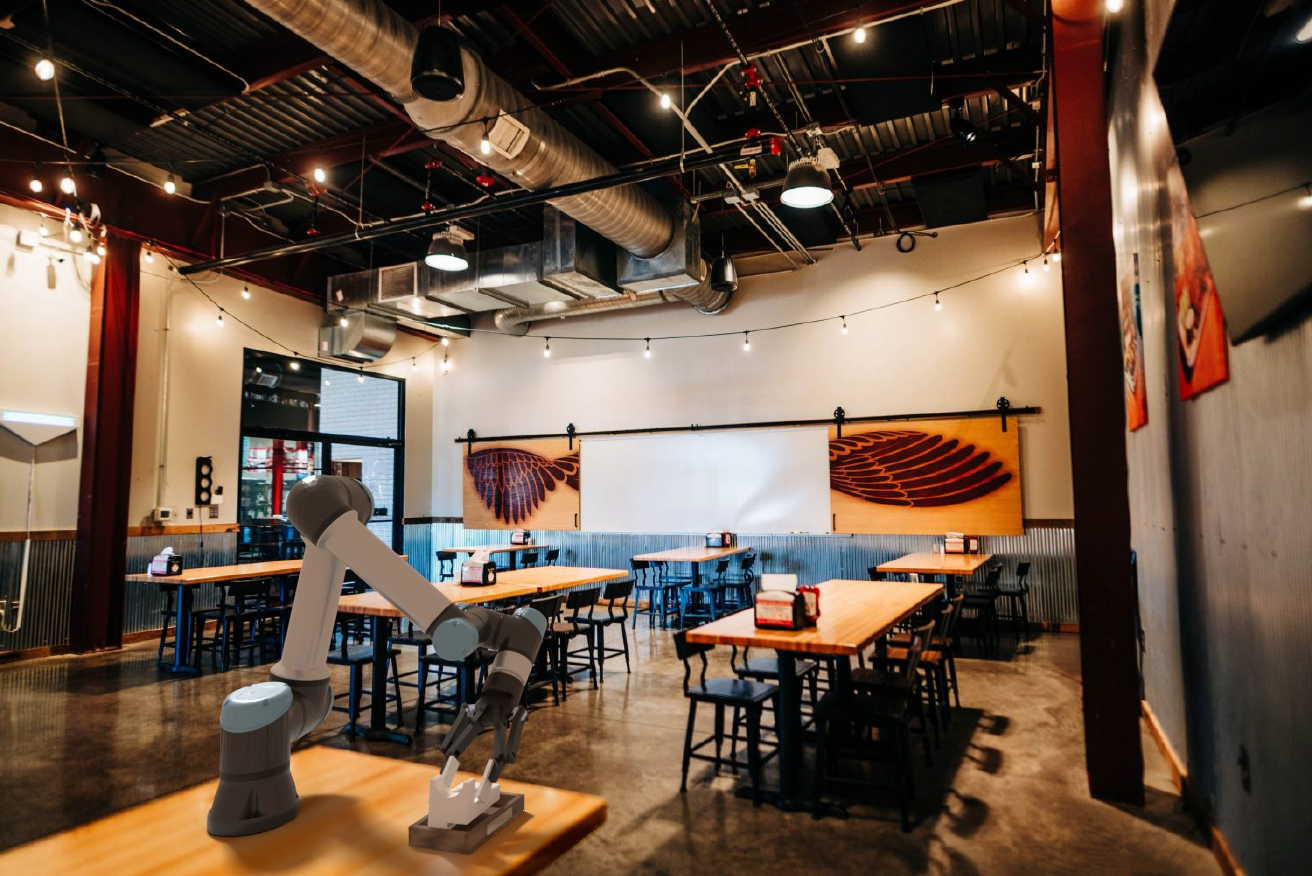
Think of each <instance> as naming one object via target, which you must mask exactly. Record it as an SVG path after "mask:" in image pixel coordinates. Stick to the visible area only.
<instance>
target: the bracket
mask: <svg viewBox="0 0 1312 876" xmlns="http://www.w3.org/2000/svg"><path fill="white" fill-rule="evenodd" d="M480 782H481V781H476V777H469V778H467V779H466V780H464V781H462V782H461V783H459V784H458V785H456V786H455V787H453V788H451V789H450V788H449V789H448V788H447V787H446V786H445V784H444V781H443V775H440V774H436V776H434V777H431V778H430V779H429V792H428V793H429V794H428V797H429V798H428V812H427V815H428V827H434V828H444V829H447V828H449V827H450V826H451V825H453V824H464V825H467V824H468V823H470V822H471V821H472V820H473V819H475V818H476V817H477V816H478V815H480V814H481V813H482V812H484V811H485V810H486V809H487V808H489V807H490V806H491V805H493V804H494V803H495V802H496V801H498V800H499V799H500V791H501V783H493V784H492V787H491V789H490V792H489V795H488V797H487V800H486V803H485V804H483V803H481V802H480V801H479V800H478V799H477V798H476V796H475V795H476V792H477V790H478V787H479V785H480Z"/></svg>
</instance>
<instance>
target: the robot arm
mask: <svg viewBox="0 0 1312 876" xmlns="http://www.w3.org/2000/svg"><path fill="white" fill-rule="evenodd" d="M375 505H376V503H375V498H374V495H373V493H372V491H371V490H370V488H369V487H368V486H367V485H366V484H365V483H364V482H362V481H360V480H358V479H355V478H352V477H348V476H345V475H344V476H343V475H327V474H312V475H309V476H306V477H304V478H302V479H300V480H299V481H297V482H296V483H295V484H294V485H293V486H292V487H291V489H290V490H289V492H288V495H287V496H286V501H285V510H286V516H287V518H288V520H289V521H290V524H291V525H293V527H294V528H295V529H296V530H297V531H298V532H299V533H300V538H301V540H302V541H303V542H304V544H305V549H304V554H303V558H302V562H301V567H300V573H299V578H298V581H297V586H296V590H295V595H294V600H293V603H292V610H291V613H290V617H289V622H288V626H287V631H286V636H285V640H284V645H283V649H282V653H281V654H282V655H281V657H280V658H281V659H280V660H279V661H278V662H277V663H276V664H274V665H273V666H271V668H270V671H269V676H268V680H267V681H266V682H265V681H264V682H260V683H254V684H251V685H249V686H244V687H241V688H239V689H236V690H235V691H233V692H230V694H228V695H227V696H226V697H225V698H224V699H223V702H222V705H221V713H220V717H219V725H220V735H219V739H220V741H219V743H220V746H219V779H218V781H219V782H218V785H217V788H216V792H215V795H214V797H213V801H212V805H211V807H210V809H209V811H208V813H207V816H206V830H207V832H208V833H210V834H211V835H215V836H221V837H238V836H246V835H247V836H249V835H252V834H258V833H262V832H265V831H269V830H272V829H275V828H277V827H280V826H282V825H285V824H286V823H289V822H291V821H292V820H293V819H295V818H296V817H297V816H298V815H299V814H300V810H301V809H300V803H301V802H300V795H299V794H298V792H297V788H296V787H297V786H296V785H295V780H294V778H293V775H292V771H291V747H292V746H291V744H292V743H293V742H295V741H297V740H299V739H300V738H302V737H303V736H305V735H306V734H309V733H311V732H313V730H316V729H317V728H318V727H319V726H320V725H321V724H322V723H323V722H324V721H325V720H326V718H327V717H328V716H329V715H330V713H331V711H332V709H333V705H334V702H335V701H334V700H335V692H334V689H333V686H332V685H331V677H332V671H331V669H330V668H329V666H328V665H327V660H328V654H329V651H330V645H331V640H332V636H333V631H334V627H335V621H336V617H337V613H338V607H339V603H340V599H341V594H342V589H343V584H344V580H345V575H346V570H347V567H348V569H350V570H351V571H352V572H353V573H355V575H357V576H358V577H359V578H360V579H361V580H362V581H364V582H365V583H366V584H367V585H368V586H369V587H370V588H372V589H373V590H374V591H375V592H376V593H378V594H379V595H380V596H381V597H382V598H383V599H384V600H386V601H387V602H388V603H389V604H390V605H391V606H392V607H393V608H395V609H396V610H397V611H398V612H399V613H401V615H403V616H404V617H405V619H407V620H408V621H409V622H410V623H412V624H413V625H415V626H414V627H416V628H417V629H419V630H420V631H421V632H422V633H423V634H424V635H425V636H427V637H428V638H429V639H430V640H431V643H432V647H433V649H434V652H435V653H436V654H437V655H438V657H440V658H442V659H443V660H446V661H453V662H454V661H458V660H459V661H460V660H461V659H464V658H467V657H468V656H470V655H472V653H474V652H475V650H477V649H478V648H479V647H481V648H484V649H489V650H492V651H494V652H495V651H496V652H497V653H496V656H495V657H494V660H493V663H492V665H491V667H490V669H489V674H488V675H487V677H486V679H485V681H484V684H483V686H482V688H481V693H480V694H481V695H480V697H479V699H477V701H476V702H475V703H474V704H468V703H467V702H462V703H461V705H460V710H459V714H458V715H457V717H456V718H455V720H454V722H453V724H452V726H451V727H450V729H449V731H448V732H447V733H446V736H445V737H444V739H443V741H442V742H441V745H440V746H439V750H438V751H439V752H440V753H441V754H442V755H443V757H445V758H444V760H443V763H442V764H441V768H440V771H439V775H443V781H444V784H445V786H446V787H447V788H448V789H449V790H450V788H451V785H452V782H453V780H454V778H455V776H456V773H457V771H458V769H459V766H460V764H461V763H460V762H459V761H458V759H460V757H461V756H462V755H463V753H464V752H465V751H466V750H467V749H468V747H469V746H470V744H471V743H472V742H473V740H475V738H476V737H477V736H478V735H479V734H480V733H482V732H483V731H484V730H485V729H486V728H494V739H493V740H494V745H493V746H494V747H493V749H494V751H493V752H494V754H493V755H492V757H493V759H491V758H490V759H489V758H488V761H487V764H486V767H485V769H484V772H483V774H482V777H481V780H480V781H479V782H480V785H479V787H478V790H477V792H476V795H475V796H476V798H477V799H478V800H479V801H480V802H481V803H483V804H485V803H486V800H487V797H488V795H489V792H490V789H491V787H492V784H493V783H495V784H497V782H498V781H499V779H500V776H501V772H502V771H503V767H505V765H508V764H511V765H512V764H515V763H516V760H517V757H518V753H519V748H520V742H521V738H522V734H523V729H524V726H525V723H526V721H527V719H528V718H529V713H528V712H527V710H526V708H525V707H524V706H523V705H522V706H518V705H519V704H520V700H521V697H522V694H523V691H524V690H525V686H526V683H527V681H528V679H529V676H530V674H531V671H532V667H533V665H534V662H535V660H536V658H537V655H538V652H539V650H540V648H541V645H542V643H543V639H544V636H545V633H546V629H547V626H548V622H547V619H546V617H545V616H544V614H542V612H540V611H539V610H538V609H535V608H532V607H518V608H517V609H516V610H515V611H514V612H513V613H512V615H511V614H505V613H503V612H499V611H495V610H491V609H488V608H485V607H482V606H480V605H476V604H474V603H467V602H463V601H459V602H458V601H457V602H456V603H454V602H453V601H452V600H451V599H450V598H448V597H447V596H446V595H445V594H444V593H443V592H441V590H439V589H438V588H437V587H436V586H435V585H434V584H432V583H431V582H430V581H429V580H428V579H426V577H424V575H422V574H421V573H419V572H418V571H417V570H416V569H415V568H414V567H413V566H411V564H410V563H408V562H407V561H406V560H405V559H404V558H402V557H401V556H400V555H399V554H398V553H396V552H395V551H394V550H393V549H392V548H391V547H390V546H389V545H388V544H386V543H385V542H384V541H383V540H382V539H381V538H379V537H378V536H377V535H376V534H375V533H373V532H372V531H371V530H370V529H369V528H368V527H367V525H368V524H369V522H370V521H371V519H372V518H373V516H374V513H375ZM474 713H475V714H474ZM512 717H513V718H512ZM510 719H512V720H511V721H512V722H511V725H510V728H509V734H508V738H507V731H508V720H510ZM506 738H507V739H506Z"/></svg>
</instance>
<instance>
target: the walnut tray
mask: <svg viewBox="0 0 1312 876" xmlns="http://www.w3.org/2000/svg"><path fill="white" fill-rule="evenodd" d="M523 810H524V811H525V794H524V793H518V792H517V793H516V792H510V791H508V792H507V791H501V790H500V799H499V800H498V801H496V802H495V803H494V804H493V805H491V806H490V807H489V808H487V809H486V810H485V811H484V812H482V813H481V814H480V815H478V816H477V817H476V818H475V819H473V820H472V821H471V822H470V823H468V824H467V825H464V824H453V825H451V826H450V827H449V828H447V829H444V828H434V827H428V814H426V815H425V816H423V817H421V818H420V819H418V820H417V821H415V822H414V823H412V824H410V825H409V826H408V846H412V847H418V848H424V849H430V850H431V849H432V850H437V851H442V852H443V851H444V852H449V853H451V852H452V853H458V854H464V855H471V854H472V853H474V852H475V851H476V850H477V849H479V848H480V847H481V846H483V845H484V844H485V843H486V842H487V841H489V840H490V839H491V838H492V837H494V836H495V835H496V834H497V833H498V831H499V832H500V831H501V830H503V829H504V828H505V827H506V826H508V825H509V824H510V823H511V822H512V821H513V819H514V818H515V817H516V818H517V817H519V816H520V815H521V814H522V813H523V812H522V811H523ZM521 812H522V813H521ZM520 813H521V814H520ZM519 814H520V815H519ZM518 815H519V816H518ZM516 818H515V819H516ZM515 819H514V820H515ZM505 825H506V826H505ZM504 826H505V827H504ZM503 827H504V828H503ZM496 832H497V833H496ZM495 833H496V834H495ZM493 835H494V836H493ZM489 838H490V839H489ZM488 839H489V840H488Z"/></svg>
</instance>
